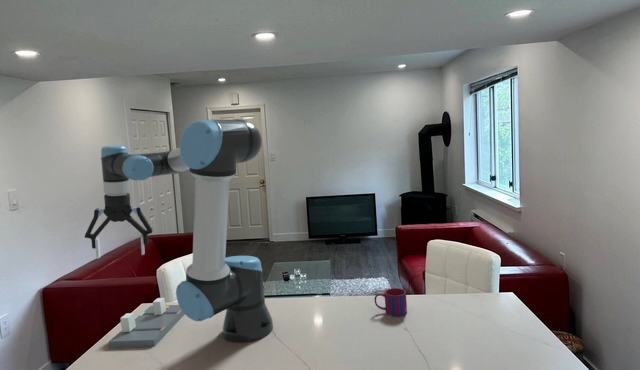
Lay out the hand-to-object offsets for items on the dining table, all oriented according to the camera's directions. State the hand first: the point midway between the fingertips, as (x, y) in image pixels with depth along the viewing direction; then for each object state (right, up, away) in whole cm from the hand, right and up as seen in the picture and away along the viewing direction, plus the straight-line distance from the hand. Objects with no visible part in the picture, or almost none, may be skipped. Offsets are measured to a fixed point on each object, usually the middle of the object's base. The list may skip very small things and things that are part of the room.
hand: (121, 255), depth 141 cm
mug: (+89, -17, -6) cm, 91 cm away
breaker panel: (+12, -23, -4) cm, 26 cm away
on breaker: (+7, -21, -9) cm, 24 cm away
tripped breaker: (+12, -20, +2) cm, 23 cm away
